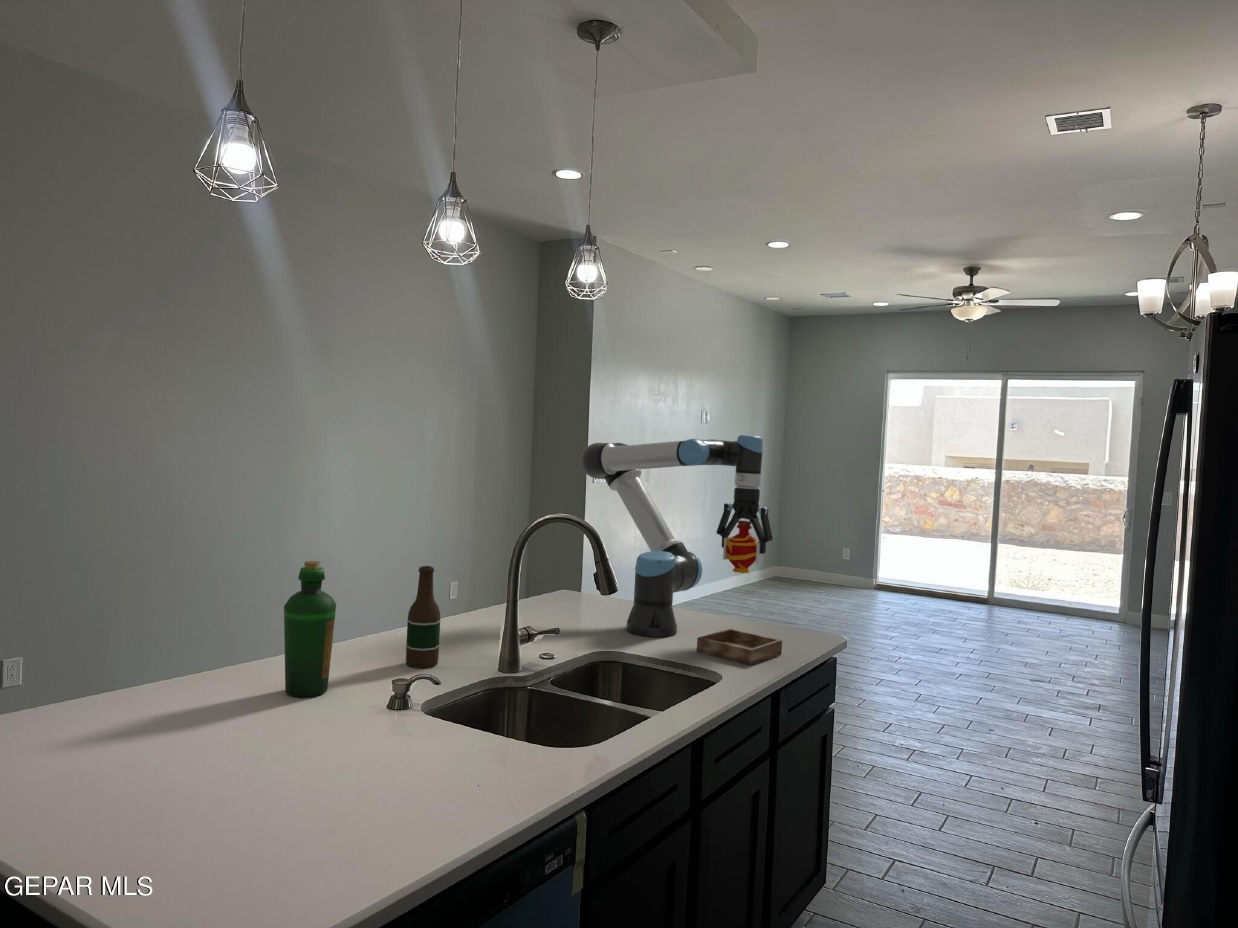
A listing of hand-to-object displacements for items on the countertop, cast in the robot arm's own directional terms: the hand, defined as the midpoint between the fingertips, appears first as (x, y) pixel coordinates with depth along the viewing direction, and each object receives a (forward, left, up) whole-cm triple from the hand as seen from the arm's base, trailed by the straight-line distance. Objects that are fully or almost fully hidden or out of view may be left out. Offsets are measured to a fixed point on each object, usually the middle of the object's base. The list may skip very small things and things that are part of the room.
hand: (742, 561), depth 255 cm
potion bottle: (0, 0, -3) cm, 3 cm away
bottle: (-35, -120, -23) cm, 127 cm away
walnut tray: (+10, -16, -23) cm, 29 cm away
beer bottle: (-36, -89, -23) cm, 98 cm away
